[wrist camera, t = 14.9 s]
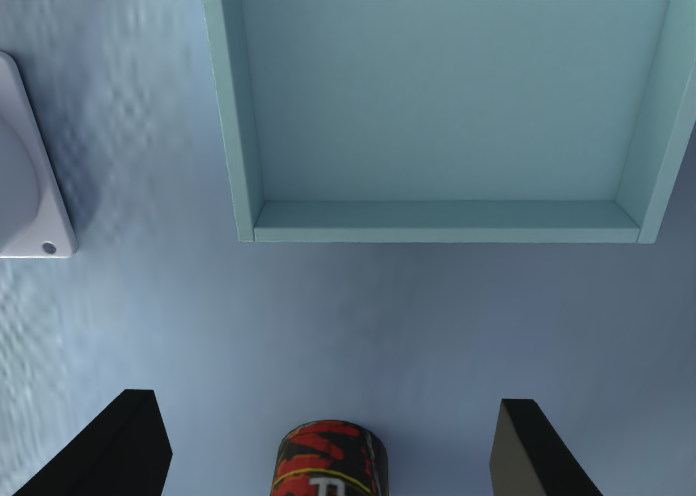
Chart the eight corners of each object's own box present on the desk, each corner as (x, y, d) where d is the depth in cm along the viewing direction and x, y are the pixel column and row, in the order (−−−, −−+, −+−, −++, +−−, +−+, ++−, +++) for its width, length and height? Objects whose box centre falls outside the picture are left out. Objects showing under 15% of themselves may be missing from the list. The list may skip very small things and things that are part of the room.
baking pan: (253, 210, 20) (238, 242, 18) (193, -246, 13) (156, -286, 11) (623, 211, 19) (655, 244, 17) (762, -273, 12) (844, -319, 10)
